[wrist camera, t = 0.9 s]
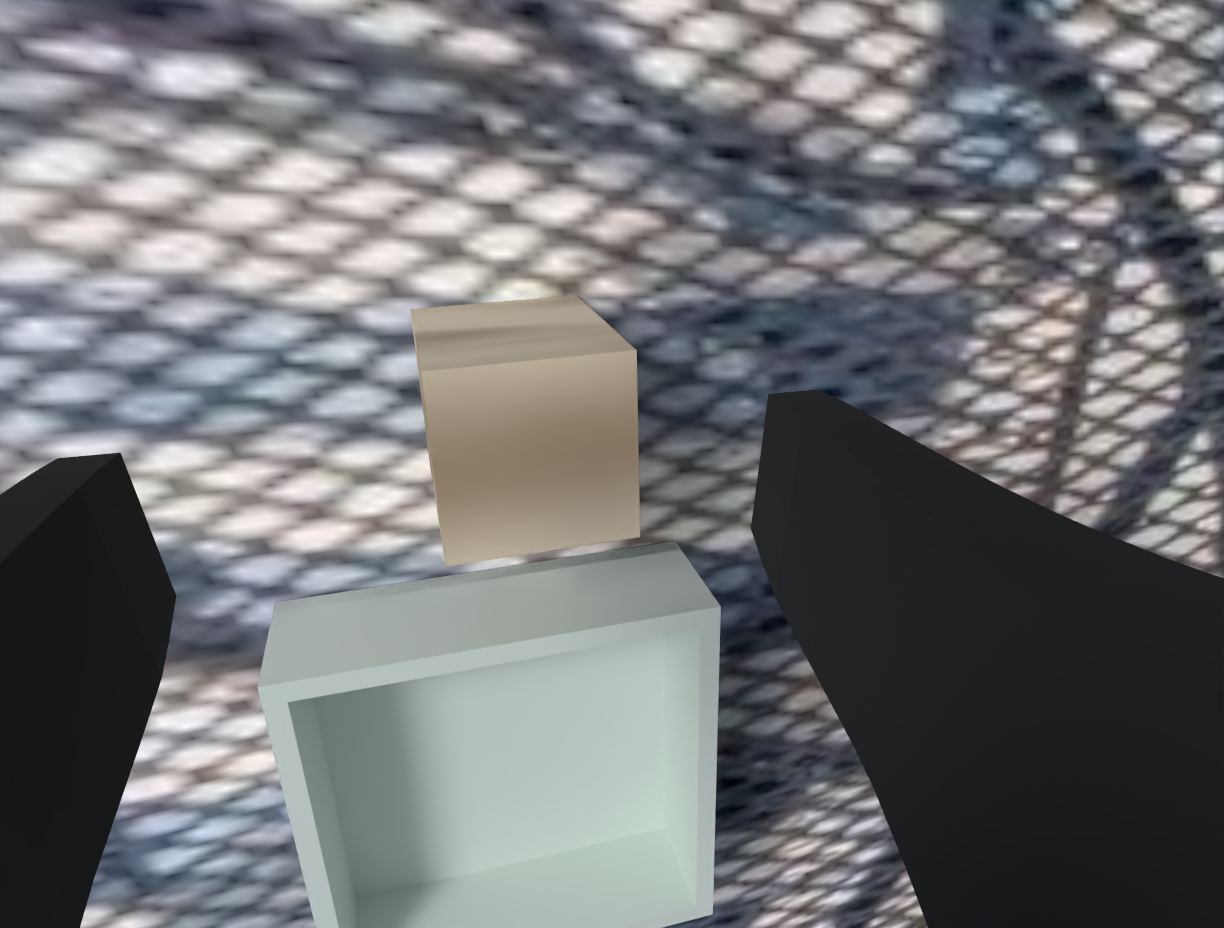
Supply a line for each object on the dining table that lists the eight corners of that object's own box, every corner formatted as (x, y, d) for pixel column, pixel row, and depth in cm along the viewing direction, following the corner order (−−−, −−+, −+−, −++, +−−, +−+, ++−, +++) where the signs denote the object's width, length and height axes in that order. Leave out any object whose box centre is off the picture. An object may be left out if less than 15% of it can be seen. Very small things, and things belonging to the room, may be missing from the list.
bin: (674, 823, 32) (712, 914, 28) (341, 901, 29) (336, 1012, 25) (674, 540, 27) (720, 606, 23) (274, 602, 24) (257, 687, 21)
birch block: (583, 445, 25) (639, 537, 20) (430, 465, 24) (445, 566, 19) (576, 295, 23) (636, 350, 18) (410, 308, 22) (421, 371, 17)
